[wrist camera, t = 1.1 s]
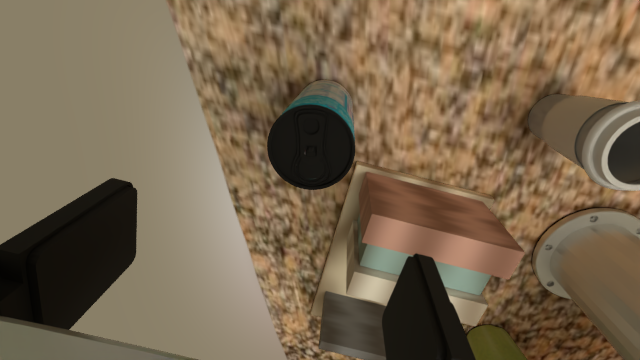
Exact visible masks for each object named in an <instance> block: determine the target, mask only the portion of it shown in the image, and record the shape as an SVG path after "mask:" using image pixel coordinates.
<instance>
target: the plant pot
mask: <svg viewBox="0 0 640 360" xmlns="http://www.w3.org/2000/svg"><path fill="white" fill-rule="evenodd" d="M467 339H468V341H469V344H470V346H471V349H472V351H473V354H474V356H475V359H476V360H527V359H526V357H525V356H524V355H523V353H522V352H521V351H520V349H519V348H518V347H517V345H516V344H515V342H514V341H513V340H512V338H511V337H510V336H509V334H508V333H507V332H506V331H505V330H504V329H503V328H498V327H495V326H492V325H483V326H479V327H476V328H474V329H472V330H471V331H469V333H468V335H467Z"/></svg>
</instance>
